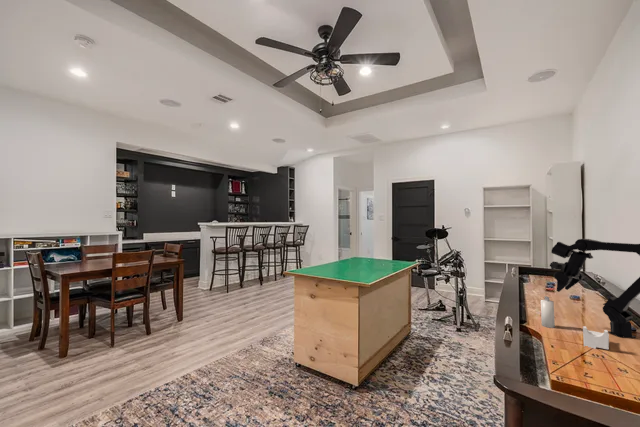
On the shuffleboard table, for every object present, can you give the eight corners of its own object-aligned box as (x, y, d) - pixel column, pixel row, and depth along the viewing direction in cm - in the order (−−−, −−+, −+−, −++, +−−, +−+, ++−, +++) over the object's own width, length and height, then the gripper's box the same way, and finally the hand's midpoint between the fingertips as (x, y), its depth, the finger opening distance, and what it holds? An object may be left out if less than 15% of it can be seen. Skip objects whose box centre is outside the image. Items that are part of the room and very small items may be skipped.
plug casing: (557, 328, 138) (556, 298, 139) (546, 327, 138) (544, 297, 139) (550, 324, 143) (548, 295, 144) (539, 324, 143) (537, 295, 144)
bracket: (608, 352, 111) (607, 332, 112) (583, 346, 116) (582, 327, 117) (609, 342, 121) (608, 324, 121) (586, 338, 126) (585, 320, 126)
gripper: (565, 254, 154) (552, 280, 158) (548, 256, 145) (535, 283, 149) (591, 264, 145) (577, 291, 149) (574, 267, 135) (560, 296, 140)
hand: (562, 290), depth 147 cm, fingers open, 9 cm apart
